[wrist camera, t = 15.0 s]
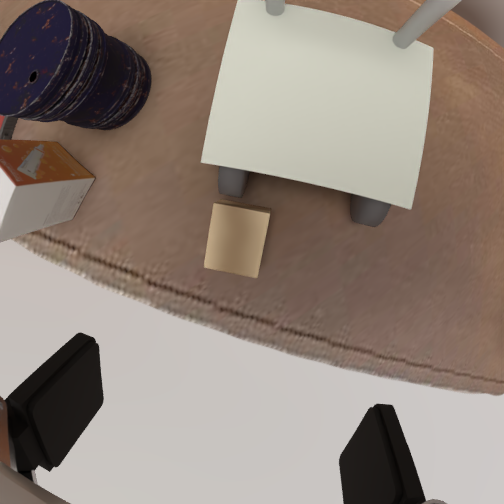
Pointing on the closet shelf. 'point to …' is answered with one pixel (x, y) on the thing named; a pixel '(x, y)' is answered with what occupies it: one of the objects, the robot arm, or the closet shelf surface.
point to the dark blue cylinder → (69, 70)
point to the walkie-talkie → (7, 127)
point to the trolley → (323, 103)
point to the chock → (236, 237)
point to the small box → (38, 186)
